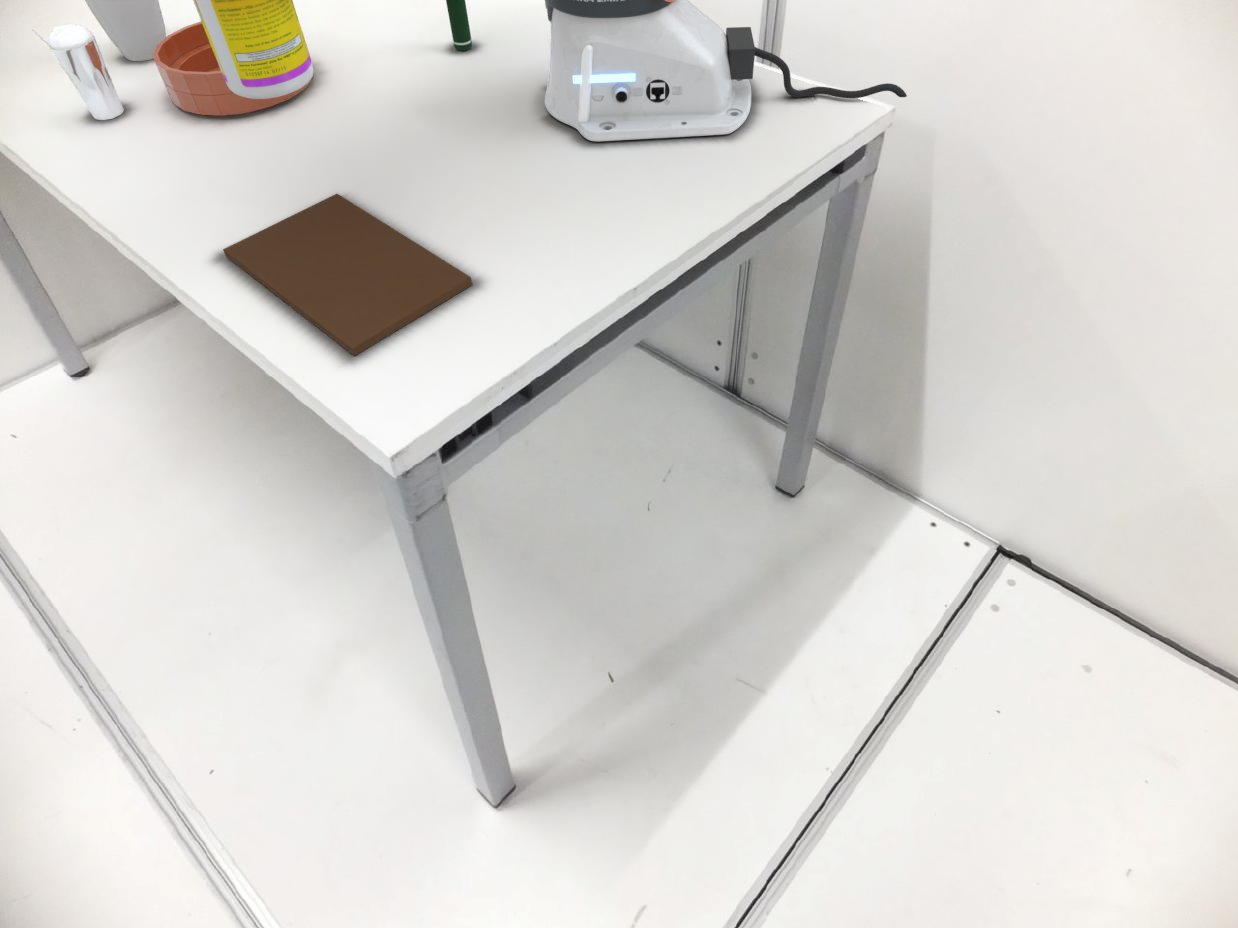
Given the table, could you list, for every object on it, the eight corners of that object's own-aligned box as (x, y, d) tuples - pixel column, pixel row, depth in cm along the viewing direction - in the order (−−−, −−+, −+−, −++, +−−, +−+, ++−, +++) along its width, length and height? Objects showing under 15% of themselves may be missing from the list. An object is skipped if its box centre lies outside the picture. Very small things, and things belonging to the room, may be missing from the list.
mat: (472, 285, 70) (471, 277, 69) (354, 356, 64) (351, 348, 64) (339, 200, 79) (336, 193, 79) (226, 257, 74) (222, 249, 73)
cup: (191, 39, 106) (155, -49, 98) (162, 67, 100) (122, -24, 93) (131, 38, 106) (91, -49, 99) (99, 66, 101) (54, -24, 93)
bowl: (335, 58, 100) (322, 14, 96) (281, 122, 90) (264, 76, 86) (213, 54, 102) (196, 11, 98) (146, 117, 92) (124, 71, 88)
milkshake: (72, 120, 92) (19, 25, 84) (114, 100, 95) (67, 7, 87) (96, 130, 90) (44, 34, 83) (138, 110, 93) (92, 15, 85)
